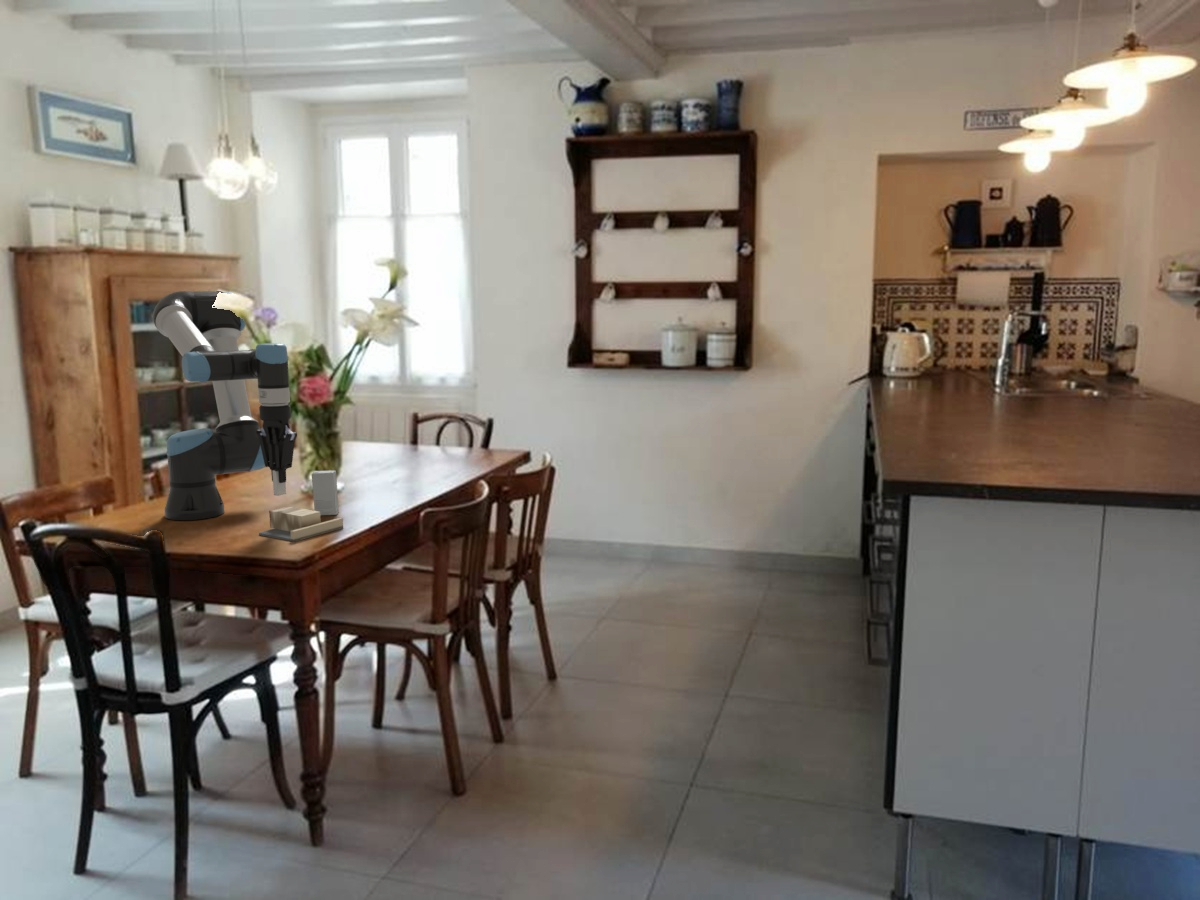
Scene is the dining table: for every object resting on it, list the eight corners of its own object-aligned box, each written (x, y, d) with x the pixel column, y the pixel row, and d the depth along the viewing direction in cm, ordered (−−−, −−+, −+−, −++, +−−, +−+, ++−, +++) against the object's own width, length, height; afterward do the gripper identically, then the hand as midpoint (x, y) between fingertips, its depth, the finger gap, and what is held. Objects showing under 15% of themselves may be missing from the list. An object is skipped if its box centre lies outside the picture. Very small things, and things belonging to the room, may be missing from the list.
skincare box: (339, 512, 256) (337, 469, 254) (336, 515, 251) (334, 472, 249) (316, 512, 255) (314, 470, 253) (313, 516, 250) (311, 473, 249)
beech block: (269, 510, 235) (301, 516, 228) (288, 506, 240) (320, 511, 233) (270, 527, 235) (302, 533, 229) (288, 522, 240) (321, 528, 234)
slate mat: (259, 535, 230) (258, 525, 230) (308, 522, 244) (308, 512, 243) (294, 541, 224) (293, 531, 223) (343, 528, 237) (342, 518, 237)
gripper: (245, 404, 232) (251, 494, 236) (280, 407, 226) (285, 500, 230) (269, 401, 239) (274, 489, 243) (303, 404, 232) (308, 494, 236)
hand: (279, 494), depth 236 cm, fingers closed
